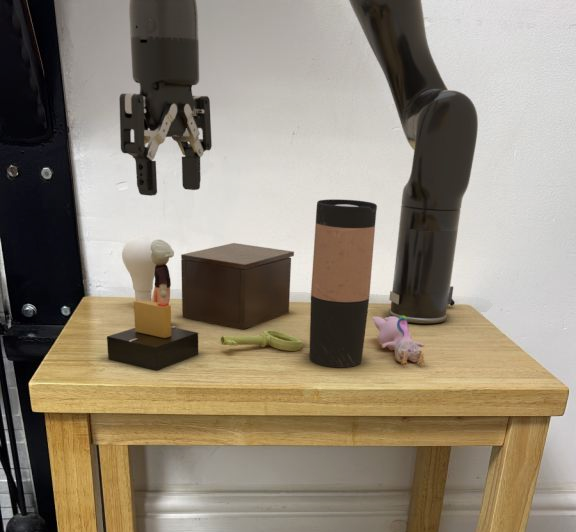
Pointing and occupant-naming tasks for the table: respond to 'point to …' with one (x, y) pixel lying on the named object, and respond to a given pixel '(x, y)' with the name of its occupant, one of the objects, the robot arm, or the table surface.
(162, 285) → the grandmother figurine
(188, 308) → the box
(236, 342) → the key
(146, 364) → the plate
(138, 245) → the lightbulb
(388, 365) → the table surface
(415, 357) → the pink toy animal
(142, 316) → the lock knob
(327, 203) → the travel mug
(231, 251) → the lockbox lid
